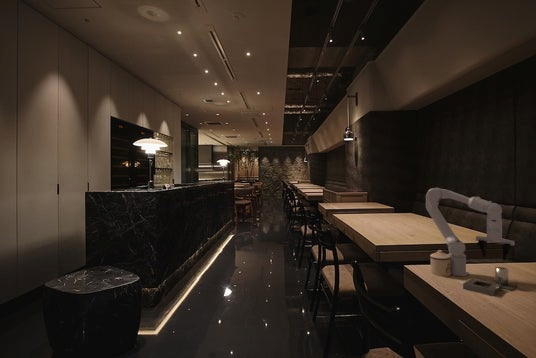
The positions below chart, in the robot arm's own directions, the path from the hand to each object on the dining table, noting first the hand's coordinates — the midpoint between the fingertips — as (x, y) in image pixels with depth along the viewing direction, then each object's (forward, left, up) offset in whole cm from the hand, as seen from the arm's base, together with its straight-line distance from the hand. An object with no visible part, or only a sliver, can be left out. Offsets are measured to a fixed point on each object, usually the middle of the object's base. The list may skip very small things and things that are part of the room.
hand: (494, 258), depth 140 cm
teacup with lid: (-20, -8, -10) cm, 24 cm away
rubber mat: (+4, -8, -10) cm, 13 cm away
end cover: (+4, -8, -9) cm, 13 cm away
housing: (0, -19, -10) cm, 22 cm away
